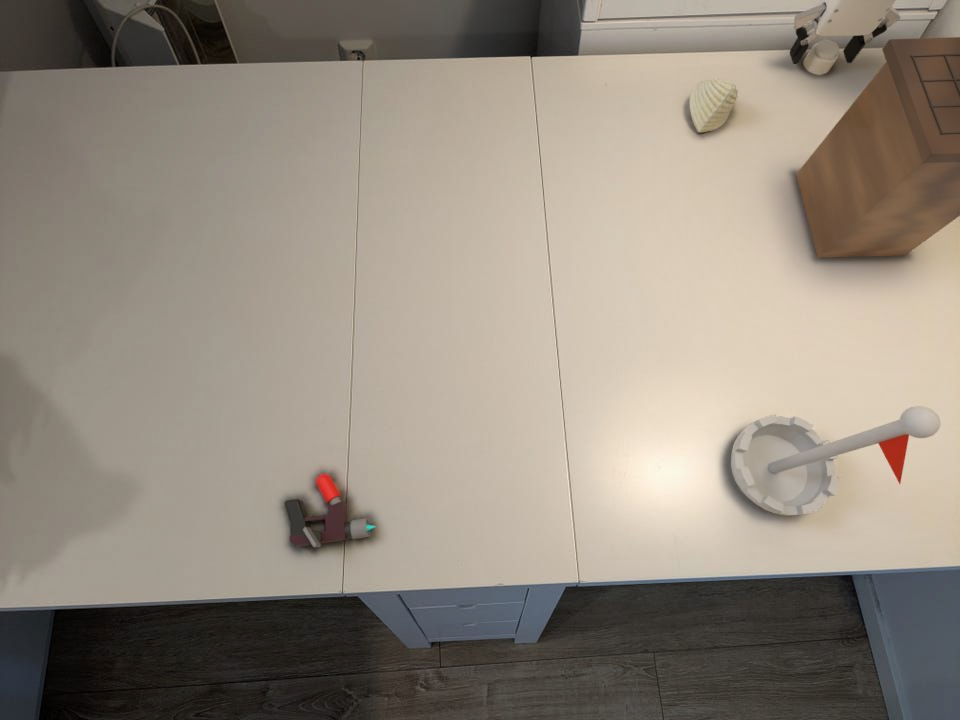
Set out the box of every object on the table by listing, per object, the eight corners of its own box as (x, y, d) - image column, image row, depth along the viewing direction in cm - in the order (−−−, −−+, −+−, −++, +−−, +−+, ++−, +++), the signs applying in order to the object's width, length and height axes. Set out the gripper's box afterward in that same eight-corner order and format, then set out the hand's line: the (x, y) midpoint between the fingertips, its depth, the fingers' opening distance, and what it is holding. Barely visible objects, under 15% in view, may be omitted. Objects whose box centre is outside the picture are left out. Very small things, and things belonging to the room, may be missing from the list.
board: (881, 168, 94) (1017, 34, 70) (912, 261, 88) (1071, 149, 64) (787, 171, 94) (890, 38, 70) (811, 264, 88) (932, 154, 64)
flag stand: (720, 419, 80) (847, 343, 52) (812, 427, 79) (992, 356, 51) (724, 511, 76) (865, 484, 47) (822, 522, 75) (1024, 500, 47)
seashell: (745, 89, 97) (754, 102, 91) (709, 130, 103) (714, 145, 97) (710, 61, 96) (717, 72, 90) (675, 104, 101) (679, 118, 95)
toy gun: (379, 539, 75) (372, 538, 71) (290, 552, 75) (277, 552, 70) (373, 468, 78) (366, 462, 74) (288, 480, 78) (276, 475, 73)
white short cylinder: (825, 56, 103) (838, 36, 99) (831, 75, 101) (845, 57, 97) (799, 56, 103) (811, 37, 99) (805, 76, 101) (817, 58, 97)
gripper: (933, -56, 85) (862, 41, 102) (821, -53, 85) (768, 43, 102) (948, -22, 83) (873, 72, 99) (833, -19, 83) (776, 75, 99)
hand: (820, 58), depth 100 cm, fingers open, 9 cm apart
